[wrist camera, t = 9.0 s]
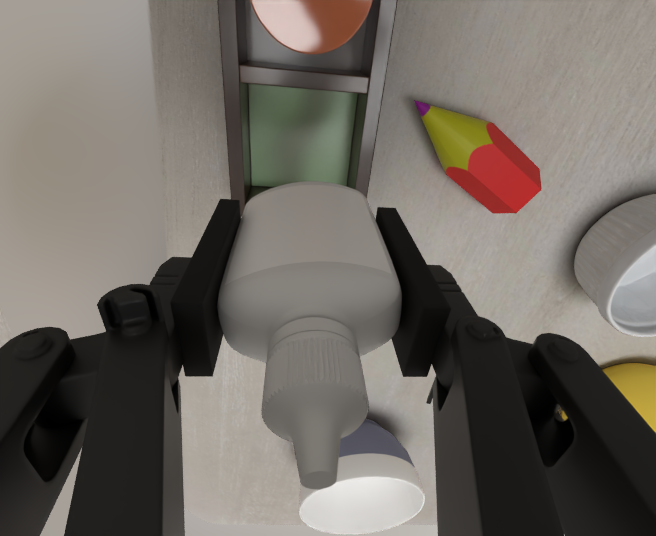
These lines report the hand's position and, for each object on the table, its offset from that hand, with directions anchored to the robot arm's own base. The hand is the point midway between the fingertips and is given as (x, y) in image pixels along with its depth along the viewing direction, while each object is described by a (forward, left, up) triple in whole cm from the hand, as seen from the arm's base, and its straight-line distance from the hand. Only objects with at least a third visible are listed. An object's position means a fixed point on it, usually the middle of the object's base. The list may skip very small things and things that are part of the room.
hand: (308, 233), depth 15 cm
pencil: (-13, -1, -16) cm, 20 cm away
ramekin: (-33, +8, -16) cm, 38 cm away
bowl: (-9, +42, -16) cm, 46 cm away
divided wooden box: (0, -5, -16) cm, 16 cm away
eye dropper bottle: (0, 0, -2) cm, 2 cm away
